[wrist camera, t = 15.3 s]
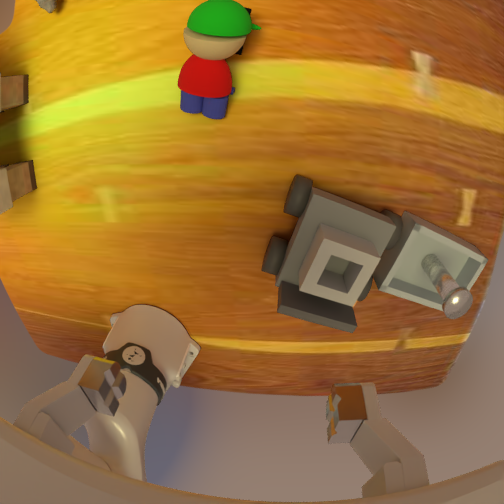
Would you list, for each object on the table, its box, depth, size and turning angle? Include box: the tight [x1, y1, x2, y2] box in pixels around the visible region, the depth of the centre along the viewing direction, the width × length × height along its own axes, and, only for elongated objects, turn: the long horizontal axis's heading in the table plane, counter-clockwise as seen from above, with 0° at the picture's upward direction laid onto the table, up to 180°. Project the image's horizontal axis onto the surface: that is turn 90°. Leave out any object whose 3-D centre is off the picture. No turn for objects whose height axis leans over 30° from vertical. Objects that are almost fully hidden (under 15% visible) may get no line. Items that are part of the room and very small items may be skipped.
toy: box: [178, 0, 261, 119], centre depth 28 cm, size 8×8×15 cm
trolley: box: [262, 175, 403, 333], centre depth 37 cm, size 16×15×12 cm
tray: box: [373, 211, 488, 311], centre depth 39 cm, size 11×16×4 cm
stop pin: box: [421, 254, 473, 319], centre depth 36 cm, size 4×4×11 cm
